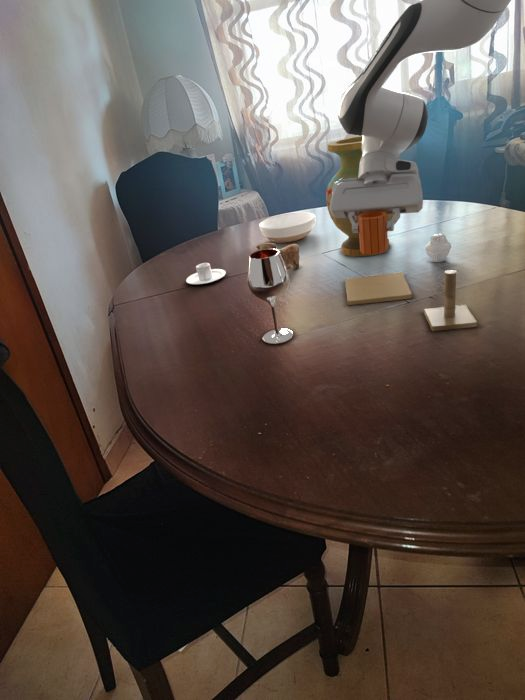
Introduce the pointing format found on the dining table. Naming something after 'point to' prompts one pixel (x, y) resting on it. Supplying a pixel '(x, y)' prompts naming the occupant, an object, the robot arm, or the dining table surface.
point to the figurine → (285, 253)
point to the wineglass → (269, 287)
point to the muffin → (438, 248)
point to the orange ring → (373, 232)
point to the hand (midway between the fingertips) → (372, 231)
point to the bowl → (288, 226)
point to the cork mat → (377, 288)
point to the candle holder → (205, 274)
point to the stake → (450, 309)
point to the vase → (349, 168)
